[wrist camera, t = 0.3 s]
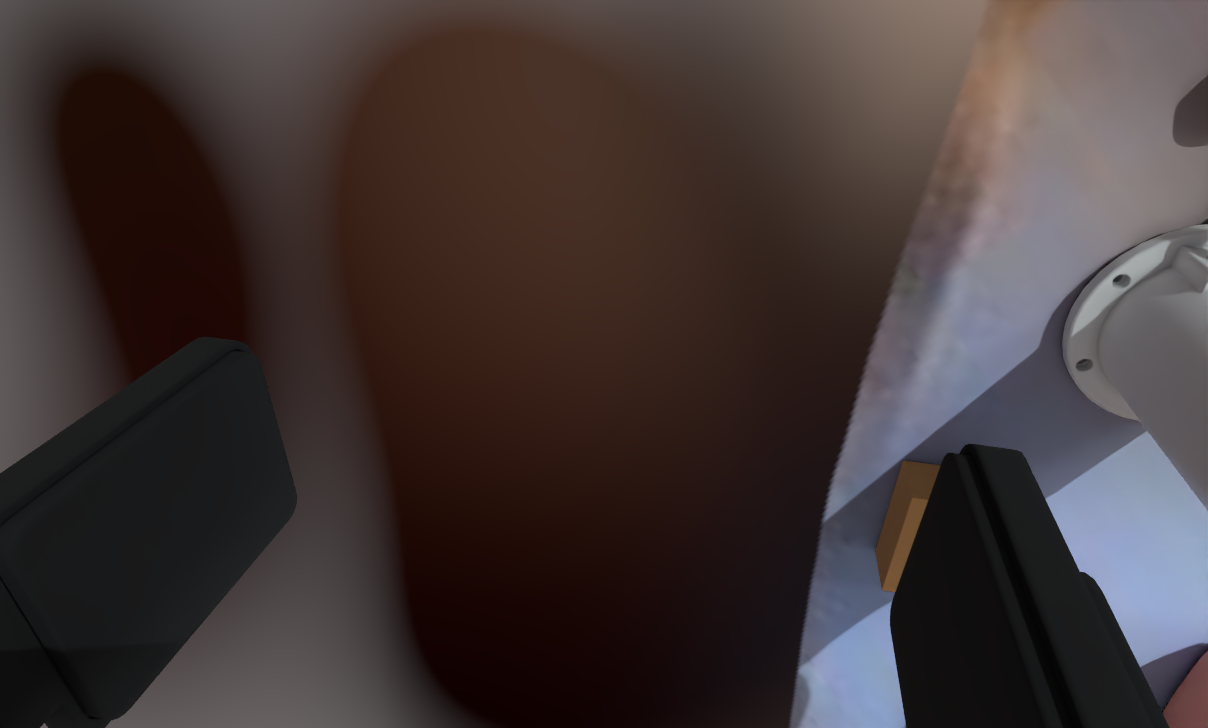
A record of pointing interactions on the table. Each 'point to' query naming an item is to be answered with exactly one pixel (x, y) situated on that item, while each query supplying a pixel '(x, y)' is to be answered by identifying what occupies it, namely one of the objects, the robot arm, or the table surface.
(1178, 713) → the pink jerry can
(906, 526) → the tan rectangular block
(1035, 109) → the table surface
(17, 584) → the robot arm
